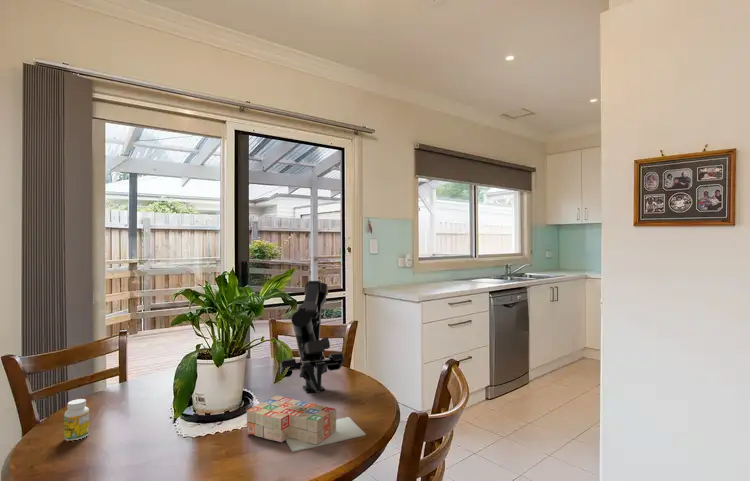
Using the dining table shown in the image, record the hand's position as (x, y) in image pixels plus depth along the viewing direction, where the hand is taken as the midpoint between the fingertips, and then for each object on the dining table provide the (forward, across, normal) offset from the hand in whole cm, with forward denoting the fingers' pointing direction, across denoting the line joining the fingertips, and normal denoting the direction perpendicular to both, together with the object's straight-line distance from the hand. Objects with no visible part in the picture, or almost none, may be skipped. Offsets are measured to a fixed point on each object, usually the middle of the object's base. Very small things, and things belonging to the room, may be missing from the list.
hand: (318, 391), depth 113 cm
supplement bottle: (-9, -60, +24) cm, 65 cm away
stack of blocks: (+2, -3, +7) cm, 8 cm away
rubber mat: (+10, 0, +4) cm, 11 cm away
